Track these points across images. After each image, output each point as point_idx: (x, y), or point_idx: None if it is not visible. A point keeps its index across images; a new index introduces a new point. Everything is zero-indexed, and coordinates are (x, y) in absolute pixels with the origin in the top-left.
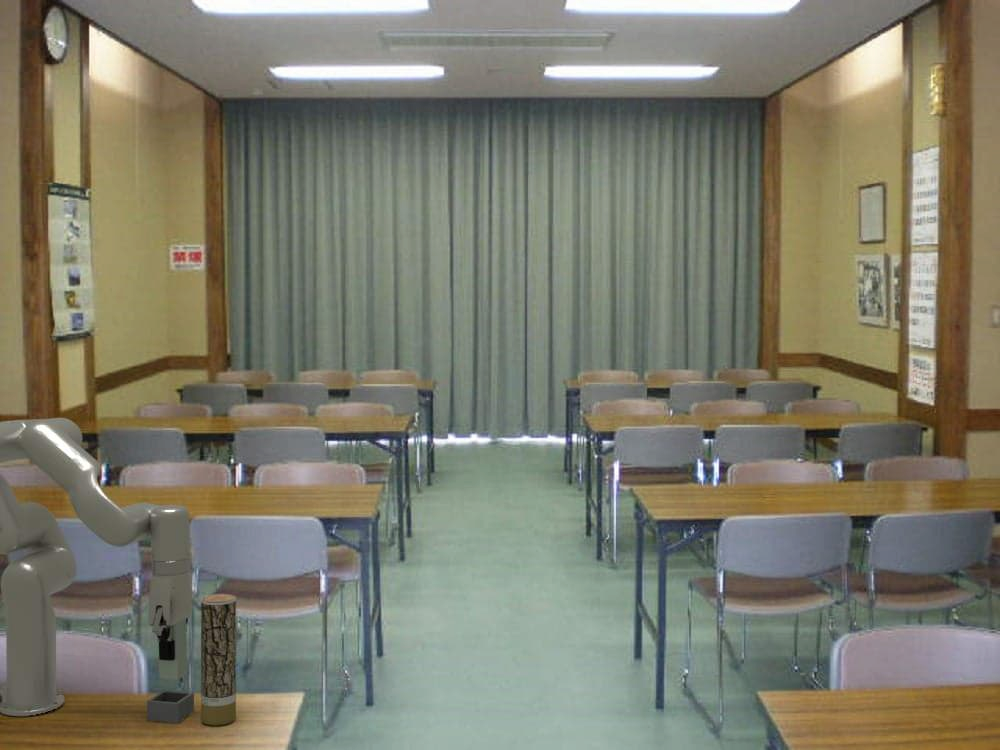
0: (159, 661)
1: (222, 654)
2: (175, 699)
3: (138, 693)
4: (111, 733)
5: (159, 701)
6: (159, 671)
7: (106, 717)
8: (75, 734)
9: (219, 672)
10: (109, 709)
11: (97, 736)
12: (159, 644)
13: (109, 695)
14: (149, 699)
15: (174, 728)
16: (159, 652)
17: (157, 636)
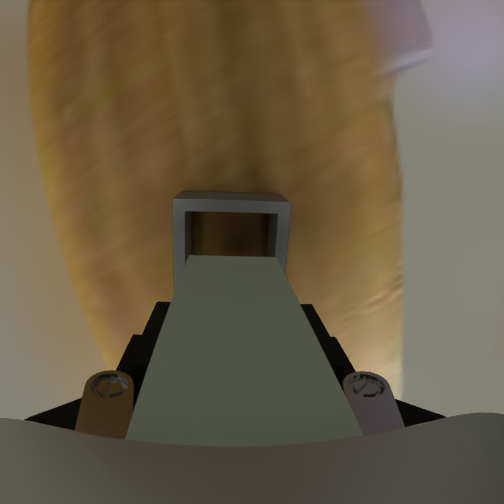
0: (179, 285)
1: None
2: (272, 245)
3: (386, 73)
4: (82, 149)
5: (180, 241)
6: (185, 266)
7: (187, 67)
8: (64, 70)
9: None
10: (251, 44)
11: (60, 128)
12: (137, 350)
13: (354, 8)
14: (191, 199)
15: (152, 288)
16: (150, 320)
17: (46, 413)
